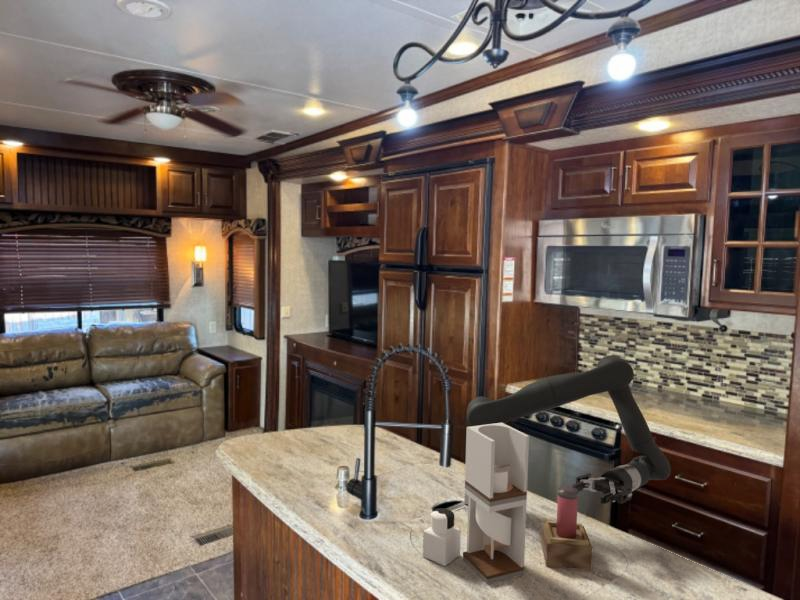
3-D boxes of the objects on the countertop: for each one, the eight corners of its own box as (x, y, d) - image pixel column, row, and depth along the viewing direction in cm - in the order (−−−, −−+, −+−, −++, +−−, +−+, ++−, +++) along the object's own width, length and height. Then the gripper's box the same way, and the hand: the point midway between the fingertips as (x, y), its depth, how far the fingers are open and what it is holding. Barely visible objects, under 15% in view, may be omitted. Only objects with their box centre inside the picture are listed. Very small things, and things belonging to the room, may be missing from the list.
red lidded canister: (557, 538, 142) (559, 493, 141) (554, 528, 148) (556, 485, 146) (578, 540, 142) (580, 495, 141) (574, 529, 147) (576, 486, 146)
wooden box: (546, 566, 140) (547, 539, 140) (541, 544, 151) (542, 519, 151) (591, 570, 139) (592, 543, 138) (582, 547, 150) (583, 522, 149)
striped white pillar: (462, 559, 143) (466, 427, 140) (497, 551, 147) (502, 422, 144) (487, 584, 132) (491, 441, 129) (523, 574, 137) (529, 435, 134)
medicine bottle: (438, 546, 149) (439, 502, 148) (460, 555, 145) (461, 511, 144) (422, 556, 144) (423, 512, 143) (445, 567, 139) (446, 521, 138)
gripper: (599, 460, 164) (566, 472, 154) (645, 475, 153) (612, 490, 143) (598, 484, 165) (564, 498, 155) (644, 502, 154) (611, 518, 144)
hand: (587, 494), depth 149 cm, fingers open, 8 cm apart
